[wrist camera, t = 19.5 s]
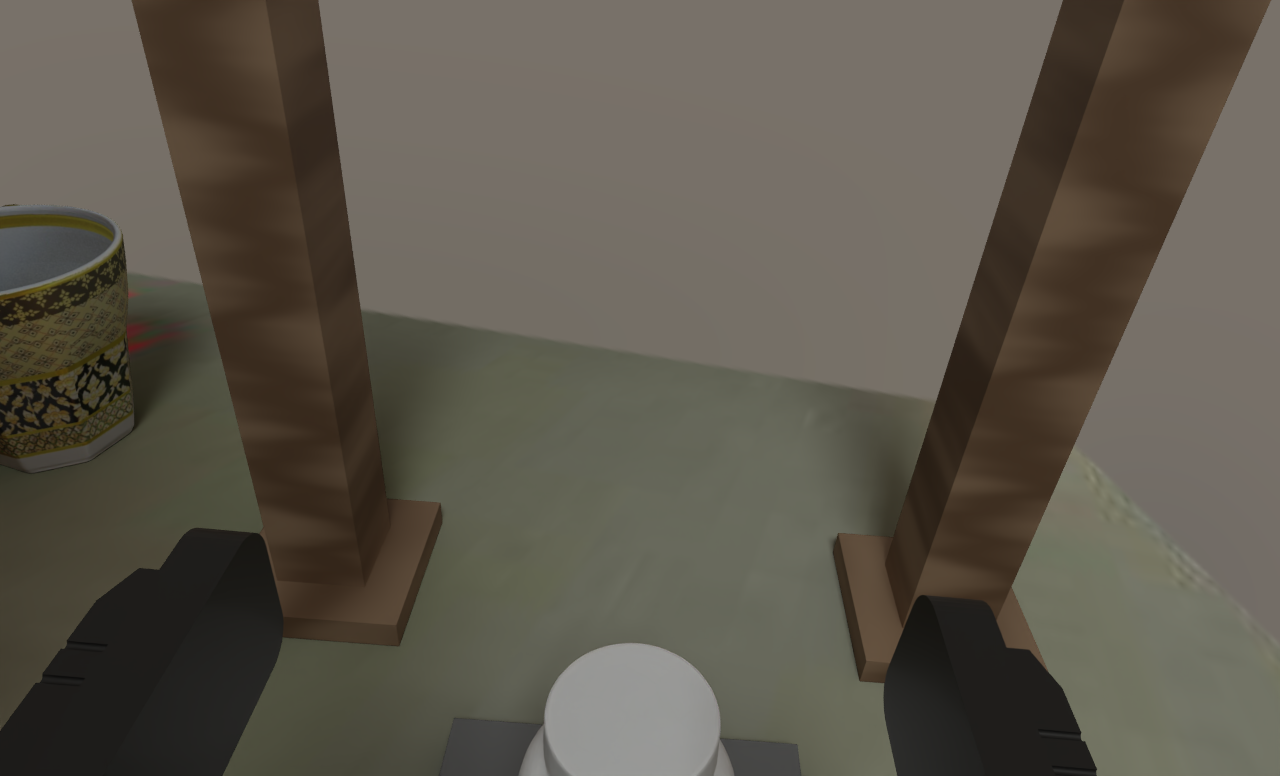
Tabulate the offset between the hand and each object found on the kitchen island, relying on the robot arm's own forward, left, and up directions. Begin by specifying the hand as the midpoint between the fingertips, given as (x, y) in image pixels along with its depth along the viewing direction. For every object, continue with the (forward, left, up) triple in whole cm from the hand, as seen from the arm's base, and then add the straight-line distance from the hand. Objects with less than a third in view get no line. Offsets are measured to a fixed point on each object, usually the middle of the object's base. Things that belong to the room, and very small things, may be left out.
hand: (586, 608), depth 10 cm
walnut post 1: (-19, +9, -19) cm, 28 cm away
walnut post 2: (+3, +22, -19) cm, 29 cm away
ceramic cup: (-39, +9, -19) cm, 44 cm away
